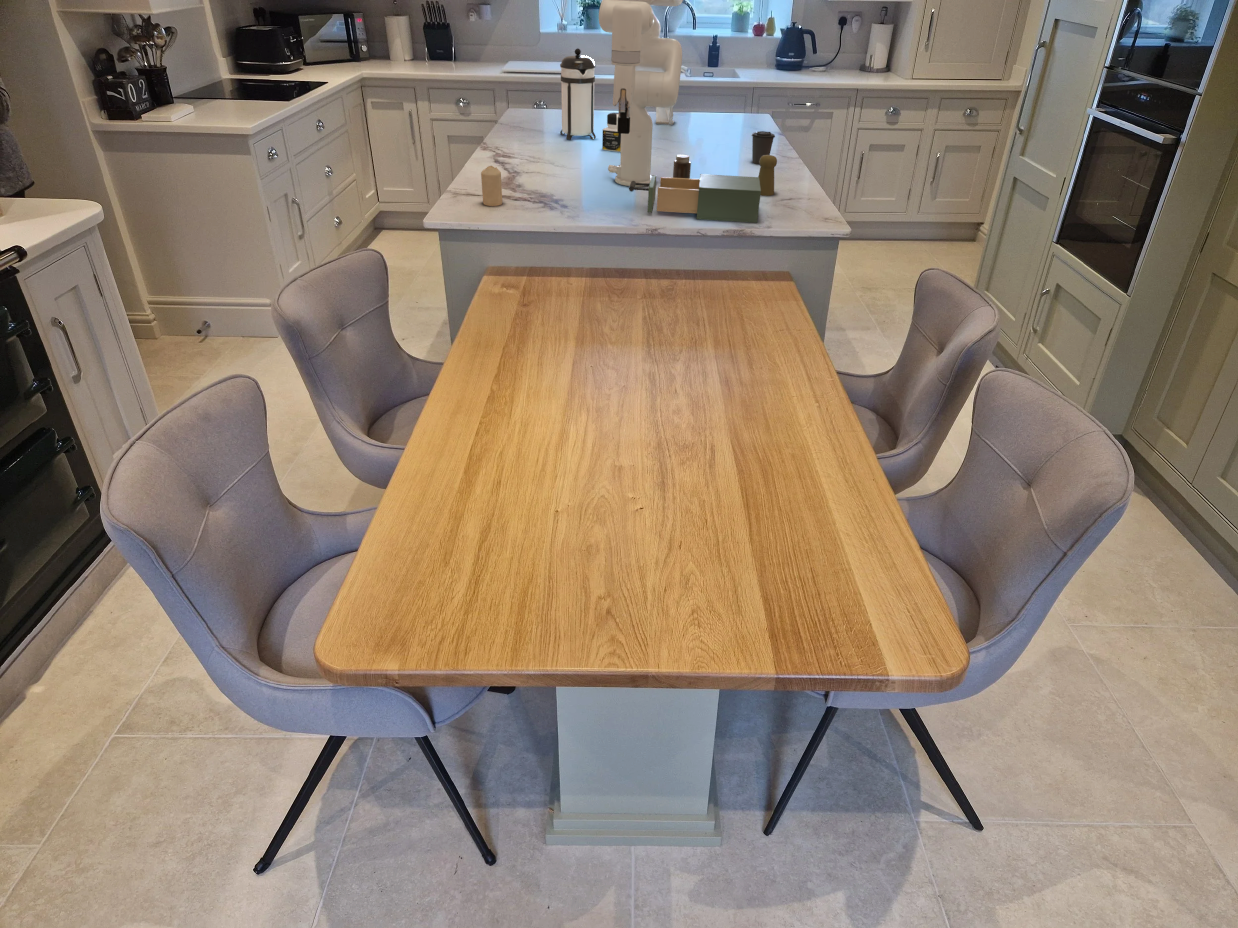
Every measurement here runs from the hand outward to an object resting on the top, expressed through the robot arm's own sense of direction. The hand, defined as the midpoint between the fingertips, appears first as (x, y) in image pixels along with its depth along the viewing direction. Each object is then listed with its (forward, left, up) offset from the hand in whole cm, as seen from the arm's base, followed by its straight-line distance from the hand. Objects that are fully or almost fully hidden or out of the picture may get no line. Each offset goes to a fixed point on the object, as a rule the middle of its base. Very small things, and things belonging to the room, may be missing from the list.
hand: (623, 133), depth 220 cm
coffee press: (-49, +79, -20) cm, 95 cm away
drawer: (+13, +3, -19) cm, 23 cm away
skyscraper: (-28, +121, -20) cm, 126 cm away
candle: (-34, -14, -20) cm, 42 cm away
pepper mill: (+12, +16, -20) cm, 28 cm away
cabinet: (+29, +7, -20) cm, 36 cm away
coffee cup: (+24, +71, -20) cm, 78 cm away
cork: (+34, +33, -20) cm, 52 cm away
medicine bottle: (-28, +66, -20) cm, 75 cm away
